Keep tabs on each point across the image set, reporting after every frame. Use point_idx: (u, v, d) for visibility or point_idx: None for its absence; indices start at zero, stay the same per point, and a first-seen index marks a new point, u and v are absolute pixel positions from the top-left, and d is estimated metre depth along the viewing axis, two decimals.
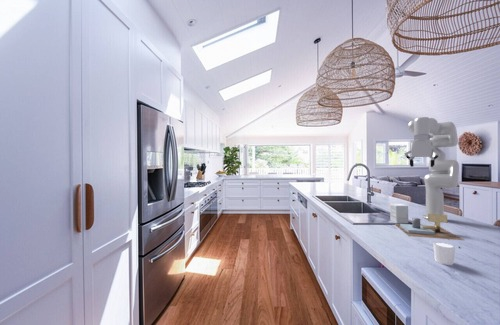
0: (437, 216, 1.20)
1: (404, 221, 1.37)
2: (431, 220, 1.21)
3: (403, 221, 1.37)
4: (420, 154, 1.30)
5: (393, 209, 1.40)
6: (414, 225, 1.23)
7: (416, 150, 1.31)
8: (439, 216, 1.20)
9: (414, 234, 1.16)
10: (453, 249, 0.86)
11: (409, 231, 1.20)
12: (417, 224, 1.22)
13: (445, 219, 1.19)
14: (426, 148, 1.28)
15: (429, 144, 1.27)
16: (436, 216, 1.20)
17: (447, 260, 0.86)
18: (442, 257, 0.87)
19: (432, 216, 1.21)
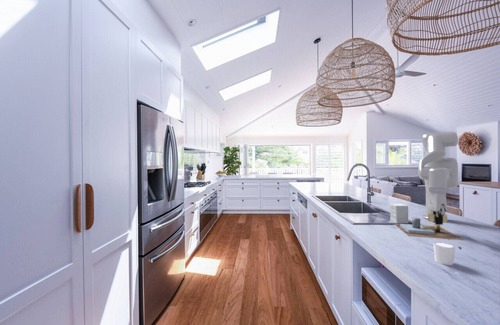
0: None
1: (404, 221, 1.37)
2: (431, 220, 1.21)
3: (403, 221, 1.37)
4: None
5: (393, 209, 1.40)
6: (414, 225, 1.23)
7: None
8: None
9: (414, 234, 1.16)
10: (453, 249, 0.86)
11: (409, 231, 1.20)
12: (417, 224, 1.22)
13: (445, 219, 1.19)
14: None
15: None
16: None
17: (447, 260, 0.86)
18: (442, 257, 0.87)
19: (432, 216, 1.21)
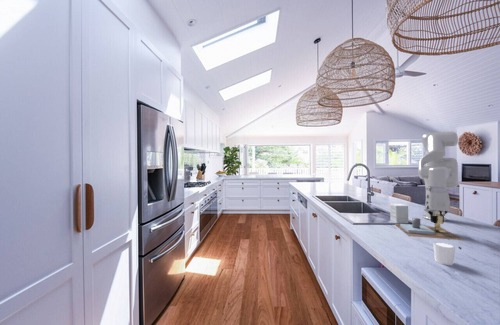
0: None
1: (404, 221, 1.37)
2: None
3: (403, 221, 1.37)
4: None
5: (393, 209, 1.40)
6: (414, 225, 1.23)
7: None
8: None
9: (414, 234, 1.16)
10: (453, 249, 0.86)
11: (409, 231, 1.20)
12: (417, 224, 1.22)
13: None
14: None
15: None
16: None
17: (447, 260, 0.86)
18: (442, 257, 0.87)
19: None
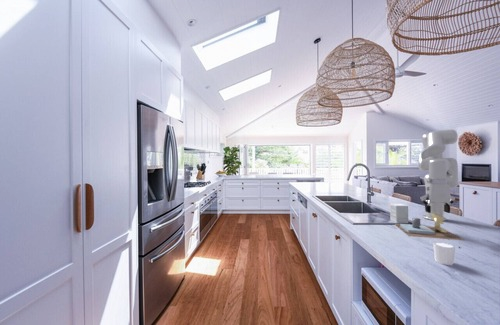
0: None
1: (404, 221, 1.37)
2: None
3: (403, 221, 1.37)
4: None
5: (393, 209, 1.40)
6: (414, 225, 1.23)
7: None
8: None
9: (414, 234, 1.16)
10: (453, 249, 0.86)
11: (409, 231, 1.20)
12: (417, 224, 1.22)
13: None
14: None
15: None
16: None
17: (447, 260, 0.86)
18: (442, 257, 0.87)
19: None
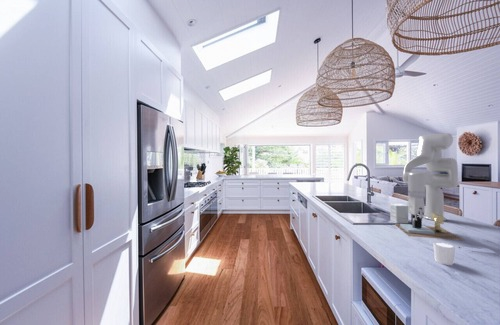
0: None
1: (404, 221, 1.37)
2: None
3: (403, 221, 1.37)
4: None
5: (393, 209, 1.40)
6: (414, 225, 1.23)
7: None
8: None
9: (414, 234, 1.16)
10: (453, 249, 0.86)
11: (409, 231, 1.20)
12: None
13: None
14: None
15: None
16: None
17: (447, 260, 0.86)
18: (442, 257, 0.87)
19: None
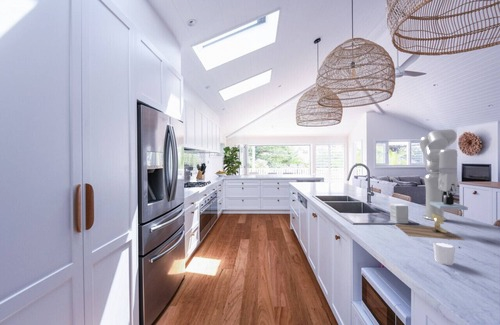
0: None
1: (404, 221, 1.37)
2: None
3: (403, 221, 1.37)
4: None
5: (393, 209, 1.40)
6: (445, 202, 1.23)
7: None
8: None
9: (414, 234, 1.16)
10: (453, 249, 0.86)
11: (441, 207, 1.20)
12: None
13: None
14: None
15: None
16: None
17: (447, 260, 0.86)
18: (442, 257, 0.87)
19: None
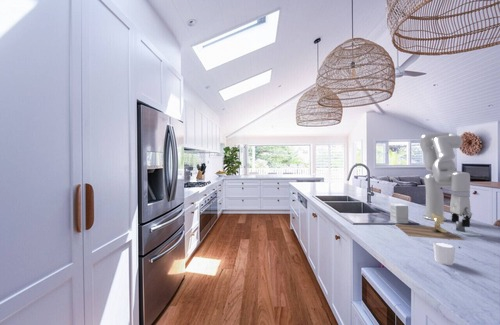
0: None
1: (404, 221, 1.37)
2: None
3: (403, 221, 1.37)
4: None
5: (393, 209, 1.40)
6: (458, 228, 1.23)
7: None
8: None
9: (414, 234, 1.16)
10: (453, 249, 0.86)
11: None
12: (462, 228, 1.22)
13: None
14: None
15: None
16: None
17: (447, 260, 0.86)
18: (442, 257, 0.87)
19: None
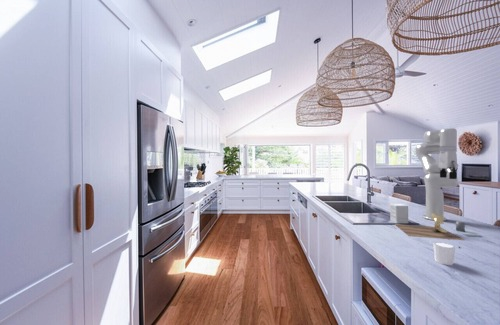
0: None
1: (404, 221, 1.37)
2: None
3: (403, 221, 1.37)
4: None
5: (393, 209, 1.40)
6: (458, 228, 1.23)
7: None
8: None
9: (414, 234, 1.16)
10: (453, 249, 0.86)
11: None
12: (462, 228, 1.22)
13: None
14: None
15: None
16: None
17: (447, 260, 0.86)
18: (442, 257, 0.87)
19: None
